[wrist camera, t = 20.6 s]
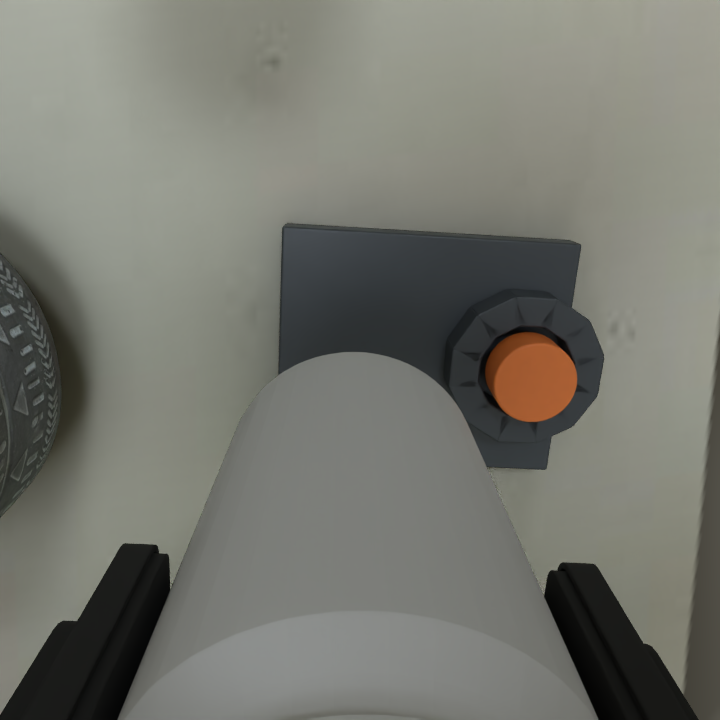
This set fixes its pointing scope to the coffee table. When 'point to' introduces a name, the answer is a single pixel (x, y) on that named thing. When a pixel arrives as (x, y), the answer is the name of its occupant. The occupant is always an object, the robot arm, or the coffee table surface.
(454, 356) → the button base
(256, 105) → the coffee table surface
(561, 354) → the button
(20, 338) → the planter
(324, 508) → the beverage can
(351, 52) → the coffee table surface
